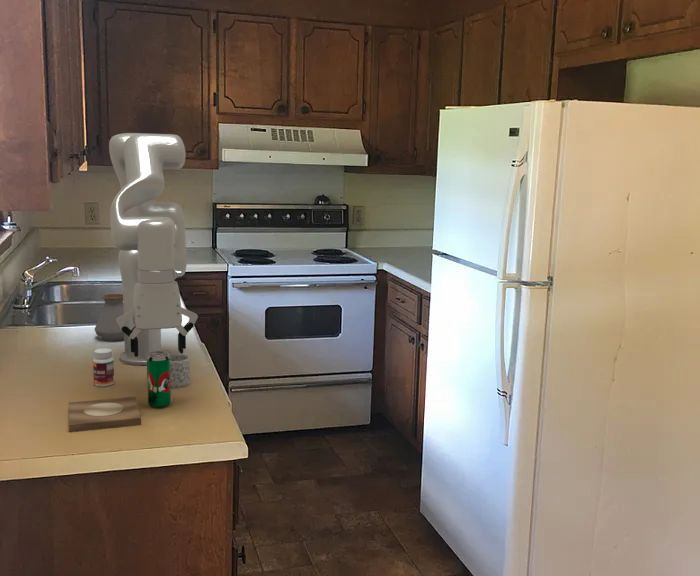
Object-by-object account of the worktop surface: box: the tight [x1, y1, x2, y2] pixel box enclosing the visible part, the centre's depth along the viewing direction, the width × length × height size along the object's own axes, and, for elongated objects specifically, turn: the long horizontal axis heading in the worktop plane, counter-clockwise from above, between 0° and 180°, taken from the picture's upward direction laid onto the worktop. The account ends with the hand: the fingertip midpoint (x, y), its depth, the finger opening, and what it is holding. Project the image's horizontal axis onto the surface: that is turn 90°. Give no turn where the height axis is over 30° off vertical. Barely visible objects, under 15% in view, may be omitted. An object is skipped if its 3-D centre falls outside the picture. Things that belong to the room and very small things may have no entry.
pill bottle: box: [92, 347, 115, 388], centre depth 179 cm, size 5×5×8 cm
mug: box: [168, 353, 191, 389], centre depth 181 cm, size 10×7×7 cm, turn 86°
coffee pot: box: [94, 293, 125, 342], centre depth 223 cm, size 21×12×15 cm, turn 107°
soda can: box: [146, 350, 172, 409], centre depth 165 cm, size 5×5×12 cm
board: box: [68, 396, 142, 433], centre depth 158 cm, size 14×14×2 cm
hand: (158, 353), depth 164 cm, fingers open, 9 cm apart
